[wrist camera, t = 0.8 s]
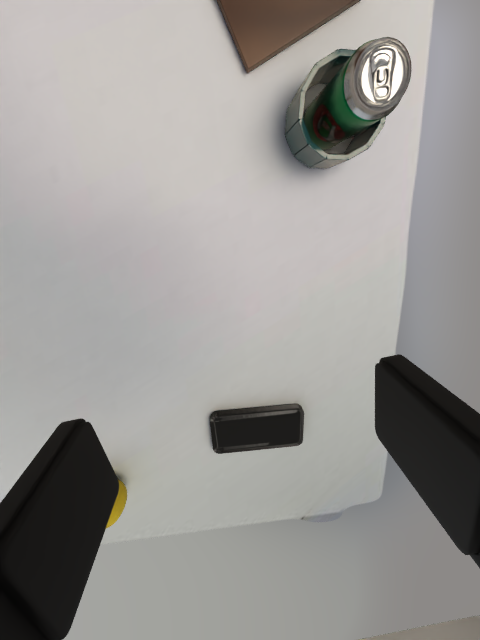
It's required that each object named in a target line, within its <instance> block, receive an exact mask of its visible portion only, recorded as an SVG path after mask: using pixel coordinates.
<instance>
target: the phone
mask: <svg viewBox="0 0 480 640" xmlns="http://www.w3.org/2000/svg"><path fill="white" fill-rule="evenodd" d="M303 425H304V411H303V409H302V407H301V406H300V405H299V404H290V405H279V406H268V407H257V408H246V409H235V410H225V411H216V412H213V413H212V414H211V416H210V426H211V435H212V444H213V450H214V452H216V453H218V454H222V453H232V452H242V451H251V450H261V449H271V448H281V447H291V446H298V445H300V444H301V443H302V441H303Z"/></svg>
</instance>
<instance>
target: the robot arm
mask: <svg viewBox="0 0 480 640" xmlns="http://www.w3.org/2000/svg"><path fill="white" fill-rule="evenodd" d="M375 430H376V434H377V436H378V438H379V440H380V441H381V442H382V444H383V445H384V447H385V448H386V449H387V451H388V452H389V454H390V455H391V456H392V458H393V459H394V460H395V462H396V463H397V465H398V466H399V467H400V469H401V470H402V471H403V473H404V474H405V476H406V477H407V478H408V480H409V481H410V482H411V484H412V485H413V487H414V488H415V489H416V491H417V492H418V493H419V495H420V496H421V498H422V499H423V500H424V502H425V503H426V505H427V506H428V507H429V509H430V510H431V511H432V513H433V514H434V516H435V517H436V518H437V520H438V521H439V523H440V524H441V525H442V527H443V528H444V529H445V531H446V532H447V534H448V535H449V536H450V538H451V539H452V540H453V542H454V543H455V545H456V546H457V547H458V548H459V550H460V551H461V552H462V553H464V554H465V555H470V556H471V557H472V558H473V560H474V561H475V562H476V564H477V565H478V566H479V568H480V414H479V413H478V412H476V411H475V410H474V409H472V408H471V407H470V406H468V405H467V404H466V403H465V402H463V401H462V400H461V399H459V398H458V397H457V396H455V395H454V394H452V393H451V392H450V391H448V390H447V389H446V388H445V387H443V386H442V385H441V384H439V383H438V382H437V381H436V380H434V379H433V378H432V377H430V376H429V375H428V374H426V373H425V372H423V371H422V370H421V369H420V368H418V367H417V366H416V365H414V364H413V363H412V362H410V361H409V360H408V359H406V358H405V357H404V356H402V355H394V356H389V357H384V358H381V359H380V362H379V363H377V364H376V366H375ZM118 492H119V481H118V478H117V476H116V474H115V472H114V470H113V468H112V466H111V464H110V462H109V460H108V458H107V456H106V454H105V452H104V449H103V447H102V445H101V443H100V441H99V439H98V437H97V435H96V433H95V431H94V429H93V427H92V425H91V423H89V422H86V421H85V420H84V419H76V420H71V421H66V422H63V423H61V424H60V425H59V426H58V427H57V428H56V430H55V431H54V432H53V434H52V435H51V436H50V438H49V439H48V440H47V442H46V443H45V444H44V446H43V447H42V448H41V450H40V451H39V452H38V454H37V455H36V456H35V458H34V459H33V460H32V462H31V463H30V464H29V466H28V467H27V468H26V470H25V471H24V472H23V474H22V475H21V476H20V478H19V479H18V480H17V482H16V483H15V485H14V486H13V487H12V489H11V490H10V491H9V493H8V494H7V495H6V497H5V498H4V499H3V501H2V502H1V503H0V640H62V639H64V638H65V637H66V635H67V634H68V632H69V630H70V628H71V625H72V622H73V619H74V617H75V614H76V611H77V608H78V605H79V603H80V600H81V597H82V594H83V591H84V588H85V585H86V583H87V580H88V577H89V574H90V571H91V569H92V566H93V563H94V560H95V557H96V554H97V552H98V548H99V546H100V543H101V540H102V537H103V535H104V532H105V529H106V526H107V523H108V520H109V518H110V515H111V512H112V509H113V506H114V504H115V501H116V498H117V495H118ZM359 640H480V615H479V616H473V617H467V618H462V619H457V620H452V621H447V622H442V623H437V624H432V625H427V626H422V627H418V628H413V629H409V630H403V631H399V632H393V633H388V634H383V635H378V636H374V637H369V638H364V639H359Z"/></svg>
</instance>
